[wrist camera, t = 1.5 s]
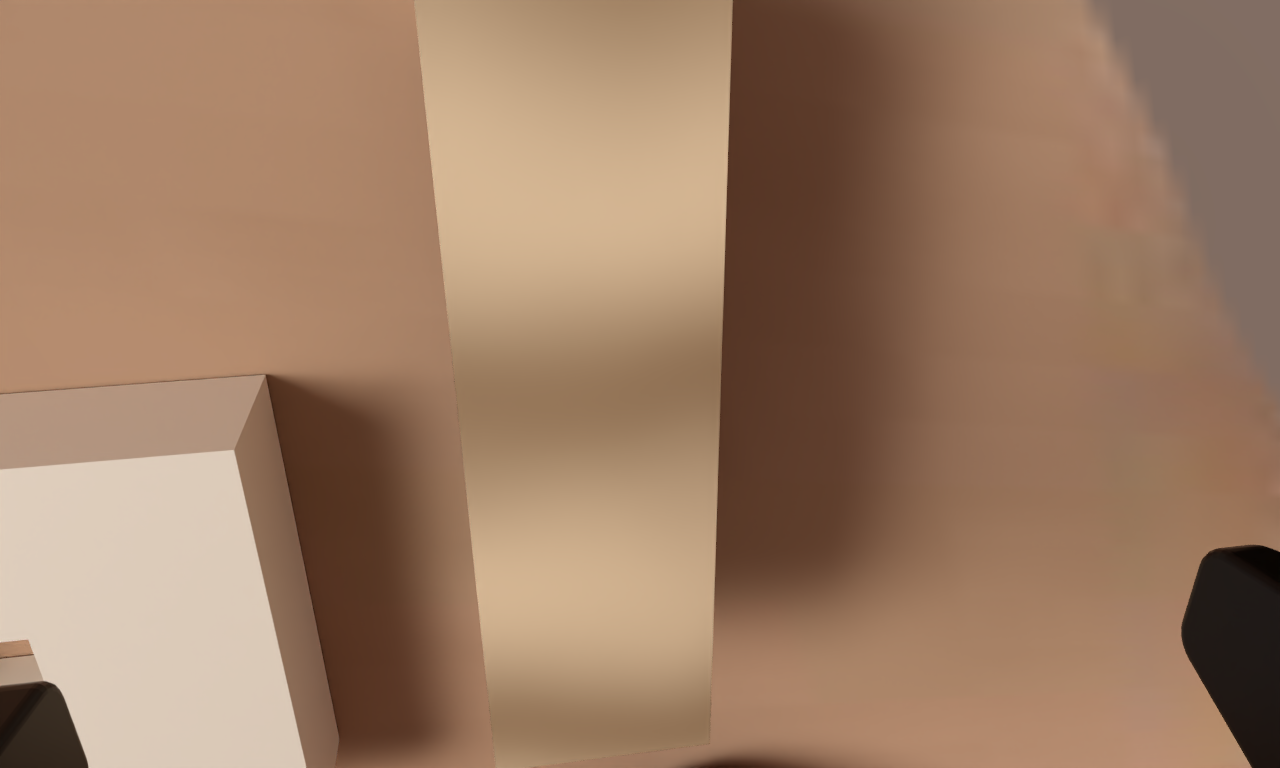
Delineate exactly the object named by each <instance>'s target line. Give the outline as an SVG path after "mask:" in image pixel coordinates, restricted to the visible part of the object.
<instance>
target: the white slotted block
mask: <svg viewBox="0 0 1280 768" xmlns="http://www.w3.org/2000/svg"><path fill="white" fill-rule="evenodd" d="M18 640H29V643H30V645H31V648H32V651H33V653H34V655H31V656H21V657H12V658H3V659H0V686H1V685H10V684H19V683H28V682H37V681H47V682H51V683H53V684H55V685H56V686H57V687H58V688H59V689H60V691H61V692H62V694H63V696H64V699H65V701H66V704H67V707H68V709H69V712H70V715H71V717H72V720H73V723H74V726H75V728H76V731H77V734H78V736H79V739H80V742H81V744H82V747H83V750H84V753H85V755H86V758H87V762H88V767H89V768H335V765H336V758H337V752H338V745H339V734H338V729H337V724H336V720H335V715H334V710H333V705H332V700H331V695H330V690H329V685H328V680H327V675H326V670H325V665H324V660H323V655H322V651H321V646H320V641H319V636H318V631H317V626H316V621H315V616H314V611H313V606H312V601H311V596H310V591H309V586H308V582H307V577H306V572H305V567H304V562H303V557H302V552H301V547H300V542H299V537H298V532H297V527H296V522H295V517H294V513H293V508H292V503H291V498H290V493H289V488H288V483H287V478H286V473H285V468H284V463H283V458H282V453H281V448H280V444H279V439H278V434H277V429H276V424H275V419H274V414H273V409H272V404H271V399H270V394H269V389H268V384H267V380H266V375H253V376H240V377H226V378H213V379H199V380H186V381H173V382H159V383H146V384H132V385H119V386H105V387H92V388H79V389H65V390H52V391H38V392H25V393H11V394H0V642H9V641H18Z"/></svg>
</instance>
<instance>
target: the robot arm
mask: <svg viewBox="0 0 1280 768" xmlns="http://www.w3.org/2000/svg"><path fill="white" fill-rule="evenodd" d="M1181 636H1182V642H1183V646H1184V649H1185V652H1186V654H1187V656H1188V658H1189V660H1190V662H1191V663H1192V665H1193V667H1194V668H1195V670H1196V672H1197V674H1198V675H1199V677H1200V679H1201V681H1202V682H1203V684H1204V686H1205V687H1206V689H1207V691H1208V693H1209V694H1210V696H1211V698H1212V700H1213V701H1214V703H1215V705H1216V706H1217V708H1218V710H1219V712H1220V713H1221V715H1222V717H1223V718H1224V720H1225V722H1226V724H1227V725H1228V727H1229V729H1230V731H1231V732H1232V734H1233V736H1234V737H1235V739H1236V741H1237V743H1238V744H1239V746H1240V748H1241V749H1242V751H1243V753H1244V755H1245V756H1246V758H1247V760H1248V762H1249V763H1250V765H1251V767H1252V768H1280V552H1278V551H1276V550H1273V549H1271V548H1268V547H1265V546H1261V545H1244V546H1235V547H1226V548H1218V549H1215V550H1212V551H1210V552H1209V553H1208V554H1207V555H1206V556H1205V557H1204V558H1203V559H1202V561H1201V563H1200V566H1199V569H1198V572H1197V576H1196V579H1195V582H1194V585H1193V589H1192V592H1191V595H1190V598H1189V602H1188V605H1187V608H1186V612H1185V615H1184V618H1183V622H1182V626H1181ZM0 768H89V767H88V762H87V758H86V755H85V753H84V750H83V747H82V744H81V742H80V739H79V736H78V734H77V731H76V728H75V726H74V723H73V720H72V717H71V715H70V712H69V709H68V707H67V704H66V701H65V699H64V696H63V694H62V692H61V691H60V689H59V688H58V687H57V686H56V685H55V684H53V683H51V682H47V681H37V682H28V683H19V684H10V685H1V686H0Z"/></svg>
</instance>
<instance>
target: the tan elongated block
mask: <svg viewBox="0 0 1280 768" xmlns="http://www.w3.org/2000/svg"><path fill="white" fill-rule="evenodd" d="M414 6H415V15H416V24H417V34H418V43H419V53H420V62H421V71H422V81H423V90H424V100H425V109H426V118H427V128H428V137H429V147H430V156H431V166H432V175H433V184H434V194H435V203H436V213H437V222H438V231H439V241H440V250H441V260H442V269H443V278H444V288H445V297H446V307H447V316H448V325H449V335H450V344H451V354H452V363H453V373H454V382H455V391H456V401H457V410H458V420H459V429H460V438H461V448H462V457H463V467H464V476H465V485H466V495H467V504H468V514H469V523H470V532H471V542H472V551H473V561H474V570H475V580H476V589H477V598H478V608H479V617H480V627H481V636H482V645H483V655H484V664H485V674H486V683H487V692H488V702H489V711H490V721H491V730H492V739H493V749H494V758H495V768H531V767H538V766H546V765H553V764H561V763H569V762H576V761H584V760H591V759H599V758H607V757H614V756H622V755H629V754H637V753H645V752H652V751H660V750H667V749H675V748H683V747H690V746H698V745H705V744H710V718H711V685H712V653H713V621H714V589H715V556H716V524H717V492H718V459H719V427H720V395H721V363H722V330H723V298H724V266H725V234H726V201H727V169H728V137H729V105H730V72H731V40H732V8H733V0H414Z"/></svg>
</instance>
